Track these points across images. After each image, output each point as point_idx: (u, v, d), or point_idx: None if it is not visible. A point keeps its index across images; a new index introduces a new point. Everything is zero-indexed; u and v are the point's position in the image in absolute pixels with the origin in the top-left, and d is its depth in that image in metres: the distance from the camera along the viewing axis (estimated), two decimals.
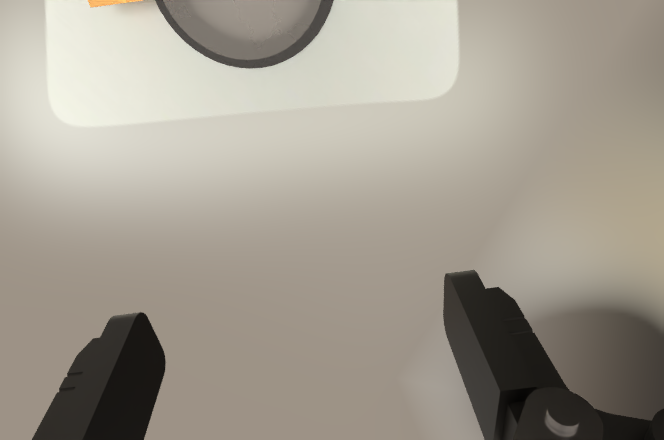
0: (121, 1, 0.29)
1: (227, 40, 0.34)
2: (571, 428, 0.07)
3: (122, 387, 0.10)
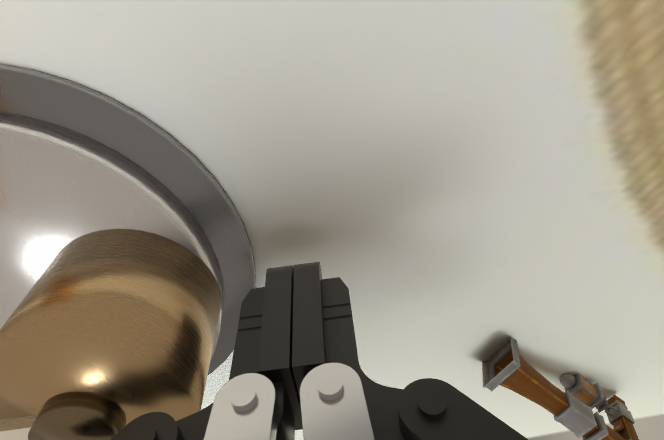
0: None
1: None
2: (332, 397, 0.08)
3: None
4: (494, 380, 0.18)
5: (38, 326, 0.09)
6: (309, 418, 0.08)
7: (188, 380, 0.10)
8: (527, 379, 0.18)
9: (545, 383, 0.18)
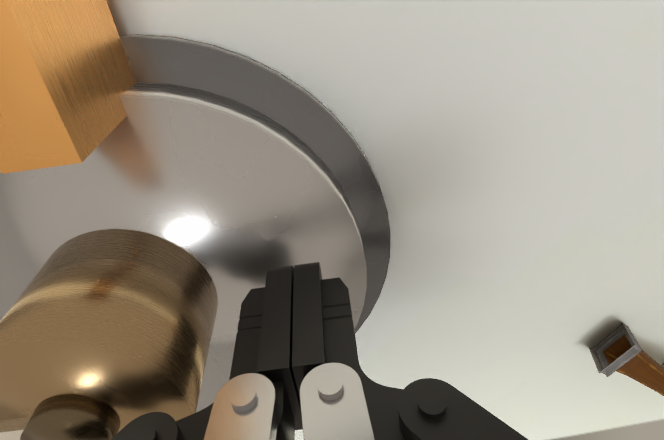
0: None
1: None
2: (332, 397, 0.08)
3: None
4: (611, 365, 0.17)
5: (32, 328, 0.09)
6: (309, 418, 0.08)
7: (183, 384, 0.10)
8: (644, 365, 0.17)
9: (661, 369, 0.18)
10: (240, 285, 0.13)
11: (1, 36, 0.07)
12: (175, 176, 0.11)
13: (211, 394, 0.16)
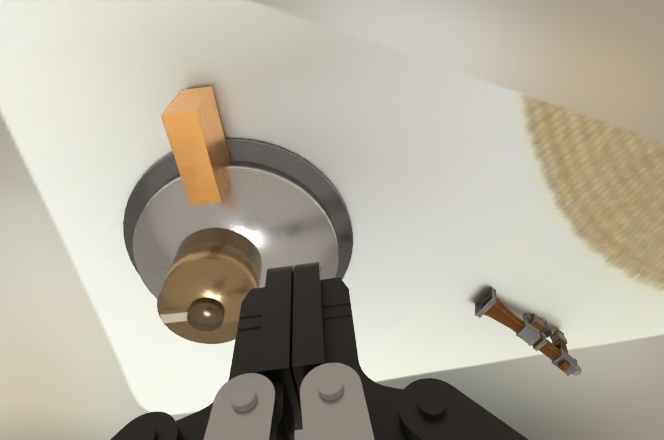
0: (178, 161, 0.20)
1: (155, 242, 0.25)
2: (332, 397, 0.08)
3: None
4: (481, 311, 0.30)
5: (195, 267, 0.22)
6: (309, 418, 0.08)
7: None
8: (500, 311, 0.30)
9: (511, 314, 0.30)
10: (274, 257, 0.26)
11: (202, 160, 0.20)
12: (247, 203, 0.24)
13: None
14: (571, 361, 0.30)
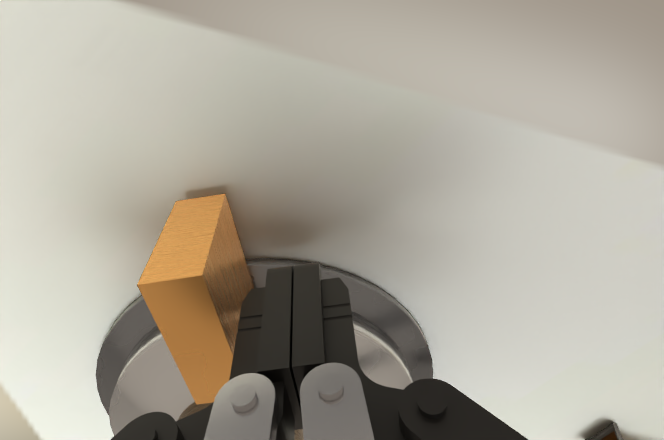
0: (172, 348, 0.11)
1: (143, 413, 0.17)
2: (332, 397, 0.08)
3: None
4: None
5: None
6: (309, 418, 0.08)
7: None
8: None
9: None
10: None
11: (215, 344, 0.11)
12: None
13: None
14: None
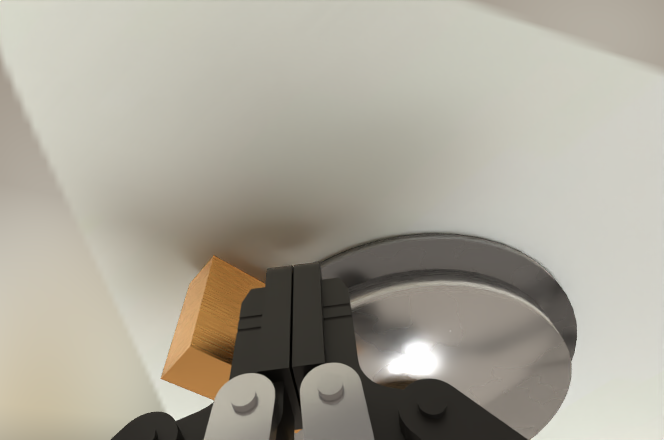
0: None
1: None
2: (332, 397, 0.08)
3: None
4: None
5: None
6: (309, 418, 0.08)
7: None
8: None
9: None
10: (460, 378, 0.17)
11: None
12: (371, 349, 0.15)
13: None
14: None
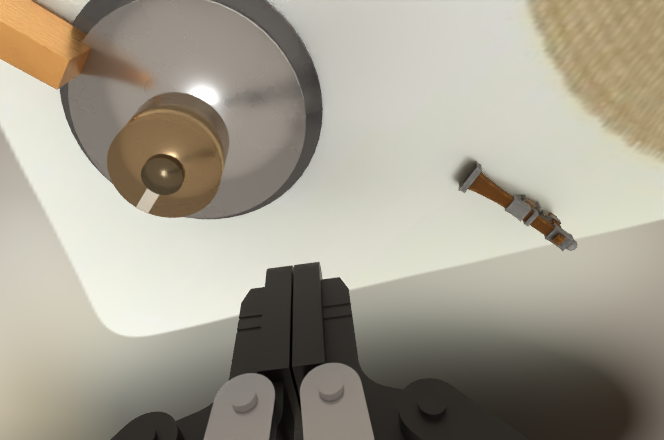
0: None
1: None
2: (332, 397, 0.08)
3: None
4: (465, 184, 0.27)
5: None
6: (309, 418, 0.08)
7: (182, 122, 0.19)
8: (486, 183, 0.27)
9: (499, 188, 0.28)
10: (212, 89, 0.22)
11: (9, 34, 0.18)
12: (131, 57, 0.21)
13: (271, 169, 0.25)
14: (566, 234, 0.27)
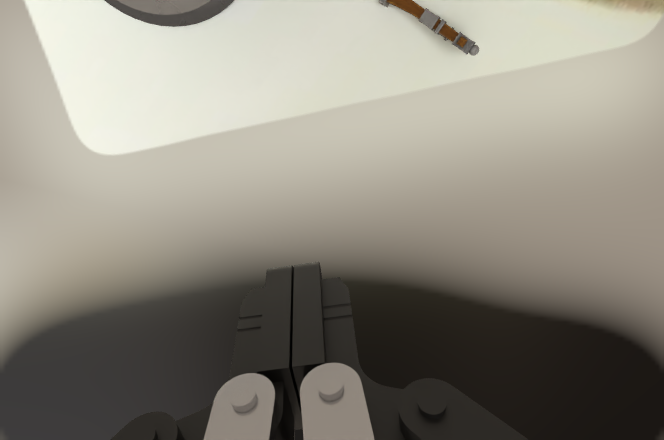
0: None
1: None
2: (332, 397, 0.08)
3: None
4: None
5: None
6: (309, 418, 0.08)
7: None
8: None
9: None
10: None
11: None
12: None
13: None
14: (468, 38, 0.31)
